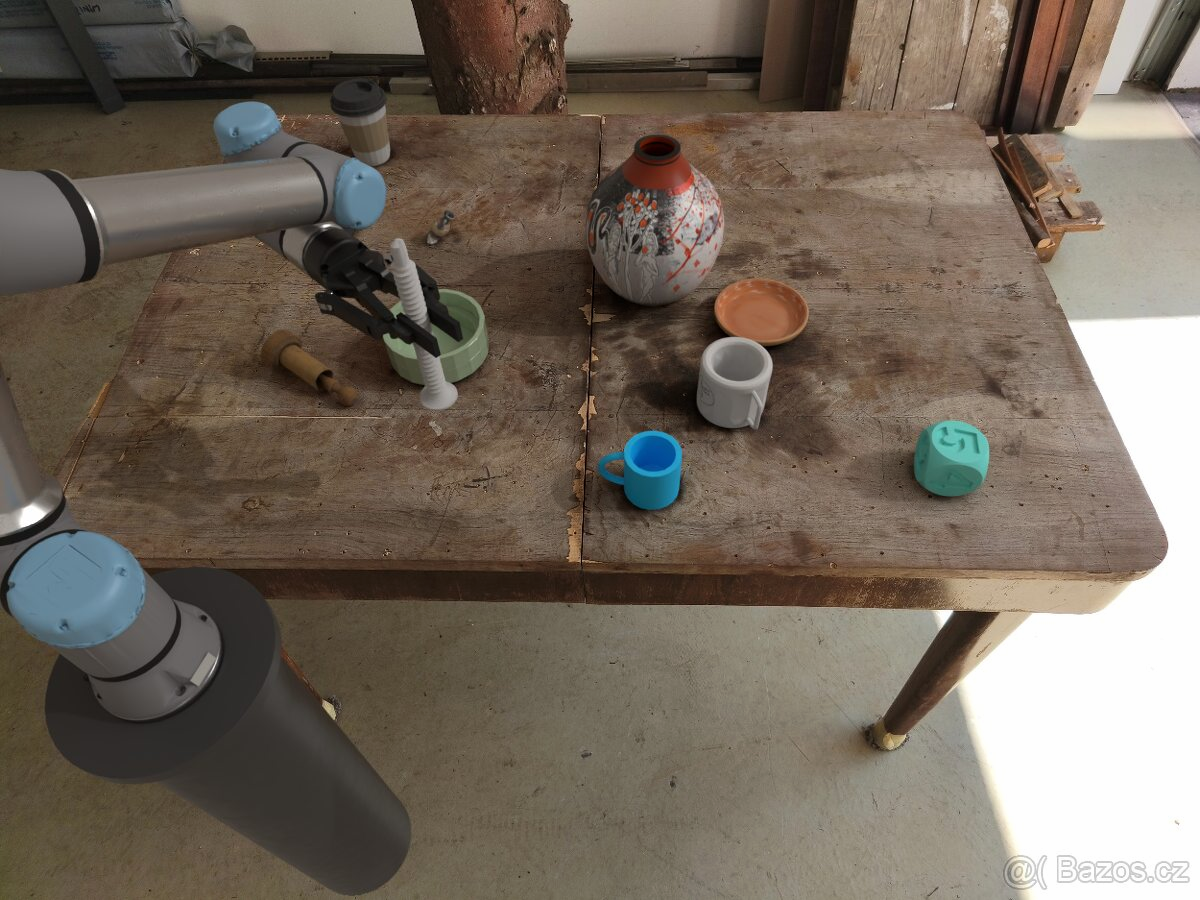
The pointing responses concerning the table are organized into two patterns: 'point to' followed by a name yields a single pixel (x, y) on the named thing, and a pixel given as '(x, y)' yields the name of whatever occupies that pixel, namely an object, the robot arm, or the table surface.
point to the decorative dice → (951, 458)
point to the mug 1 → (648, 469)
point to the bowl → (446, 341)
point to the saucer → (761, 311)
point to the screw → (411, 296)
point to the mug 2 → (734, 382)
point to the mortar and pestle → (303, 365)
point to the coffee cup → (363, 119)
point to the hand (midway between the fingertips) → (447, 340)
